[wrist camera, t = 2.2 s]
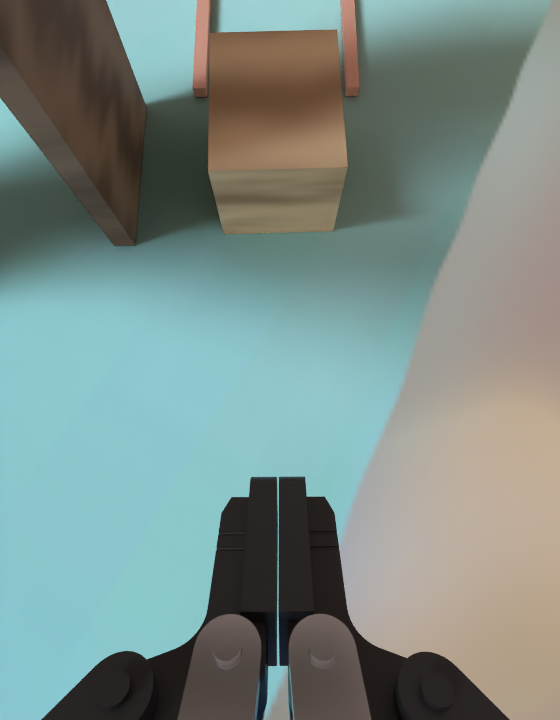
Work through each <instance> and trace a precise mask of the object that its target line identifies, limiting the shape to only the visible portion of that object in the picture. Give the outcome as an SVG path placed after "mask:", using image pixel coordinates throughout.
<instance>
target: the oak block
mask: <svg viewBox="0 0 560 720" xmlns="http://www.w3.org/2000/svg"><path fill="white" fill-rule="evenodd" d="M347 169H348V161H347V148H346V136H345V123H344V111H343V98H342V86H341V73H340V61H339V48H338V36H337V30H303V31H263V32H222V33H210V35H209V131H208V173H209V177H210V181H211V185H212V189H213V193H214V197H215V201H216V205H217V209H218V213H219V217H220V221H221V225H222V229H223V233H224V234H252V233H287V232H322V231H333V230H334V226H335V221H336V217H337V213H338V208H339V204H340V200H341V195H342V191H343V187H344V182H345V178H346V174H347Z"/></svg>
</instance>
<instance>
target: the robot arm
mask: <svg viewBox="0 0 560 720" xmlns="http://www.w3.org/2000/svg"><path fill="white" fill-rule="evenodd" d="M277 553H278V511H277V477H251V481H250V493H249V497H231V499H230V501H229V502H228V504H227V505H226V507H225V509H224V510H223V512H222V514H221V521H220V528H219V535H218V542H217V551H216V555H215V562H214V569H213V576H212V583H211V590H210V597H209V604H208V610H207V615H206V617H205V620H204V622H203V624H202V626H201V627H200V629H199V630H198V632H197V633H196V634H195V635H194V636H193V637H192V638H191V639H190V640H189V641H188V642H187V643H185V644H183V645H182V646H180V647H178V648H176V649H174V650H171V651H168V652H166V653H163V654H160V655H158V656H155V657H152V658H150V659H147V660H146V659H145V658H144V657H143V656H142V655H140V654H138V653H136V652H132V651H123V652H118V653H115V654H113V655H110V656H108V657H107V658H105V659H104V660H102V661H101V662H100V663H99V664H97V665H96V666H95V667H94V668H93V669H92V670H91V671H90V672H89V673H88V674H87V675H86V676H85V677H84V678H83V679H82V680H81V681H80V682H79V683H78V684H77V685H76V686H75V687H74V688H73V689H72V690H71V691H70V692H69V693H68V694H67V695H66V696H65V697H64V698H63V699H62V700H61V701H60V702H59V703H58V704H57V705H56V706H55V707H54V708H53V709H52V710H51V711H50V712H49V713H48V714H47V715H46V716H45V717H44V718H43V719H42V720H264V713H265V708H266V704H267V687H268V666H277ZM279 657H280V666H288V696H289V697H288V698H289V700H288V706H289V707H288V708H289V720H509V719H508V718H507V717H506V716H505V715H504V714H503V713H502V712H501V711H500V710H499V709H498V708H497V707H496V706H495V705H494V704H493V703H492V702H491V701H490V700H489V699H488V698H487V697H486V696H485V695H484V694H483V693H482V692H481V691H480V690H479V689H478V688H477V687H476V686H475V685H474V684H473V683H472V682H471V681H470V680H469V679H468V678H467V677H466V676H465V675H464V674H463V673H462V672H461V671H460V670H459V669H458V668H457V667H456V666H455V665H454V664H453V663H452V662H451V661H449V660H448V659H446V658H445V657H443V656H440V655H438V654H435V653H431V652H419V653H416V654H413V655H411V656H410V657H409V658H405V657H402V656H399V655H397V654H394V653H391V652H389V651H386V650H383V649H381V648H378V647H376V646H374V645H372V644H371V643H369V642H368V641H367V640H365V639H364V638H363V637H362V636H361V635H360V634H359V633H358V632H357V630H356V629H355V627H354V626H353V624H352V622H351V620H350V617H349V615H348V610H347V605H346V597H345V590H344V582H343V575H342V567H341V560H340V552H339V544H338V537H337V529H336V522H335V514H334V511H333V510H332V508H331V506H330V505H329V503H328V502H327V500H326V498H325V497H306V484H305V477H279Z"/></svg>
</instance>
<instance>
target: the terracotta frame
mask: <svg viewBox="0 0 560 720" xmlns="http://www.w3.org/2000/svg"><path fill="white" fill-rule="evenodd" d="M340 3H341V22H342V42H343V61H344V81H345V96H358V93H359V88H360V84H359V68H358V52H357V35H356V19H355V3H354V0H340ZM210 18H211V0H197V13H196V32H195V51H194V71H193V92H194V96H195V97H207V89H208V66H209V35H210Z"/></svg>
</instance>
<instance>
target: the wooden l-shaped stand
mask: <svg viewBox="0 0 560 720" xmlns="http://www.w3.org/2000/svg"><path fill="white" fill-rule="evenodd" d="M0 98H1V99H2V101H3V102H4V103H5V104H6V106H7V107H8V108H9V110H10V111H11V112H12V114H13V115H14V116H15V117H16V119H17V120H18V121H19V123H20V124H21V125H22V126H23V128H24V129H25V130H26V132H27V133H28V134H29V136H30V137H31V138H32V139H33V141H34V142H35V143H36V145H37V146H38V147H39V149H40V150H41V151H42V152H43V154H44V155H45V156H46V158H47V159H48V160H49V161H50V163H51V164H52V165H53V167H54V168H55V169H56V171H57V172H58V173H59V174H60V176H61V177H62V178H63V180H64V181H65V182H66V183H67V185H68V186H69V187H70V189H71V190H72V191H73V193H74V194H75V195H76V196H77V198H78V199H79V200H80V202H81V203H82V204H83V206H84V207H85V208H86V209H87V211H88V212H89V213H90V215H91V216H92V217H93V218H94V220H95V221H96V222H97V224H98V225H99V226H100V228H101V229H102V230H103V231H104V233H105V234H106V235H107V237H108V238H109V239H110V240H111V242H112V243H113V244H114V246H135V243H136V231H137V219H138V207H139V194H140V182H141V170H142V158H143V146H144V134H145V121H146V109H147V107H146V105H145V102H144V99H143V97H142V94H141V92H140V89H139V86H138V84H137V81H136V78H135V76H134V73H133V70H132V68H131V65H130V62H129V60H128V57H127V55H126V52H125V49H124V47H123V44H122V41H121V39H120V36H119V33H118V31H117V28H116V26H115V23H114V20H113V18H112V15H111V12H110V10H109V7H108V4H107V2H106V0H0Z"/></svg>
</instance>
